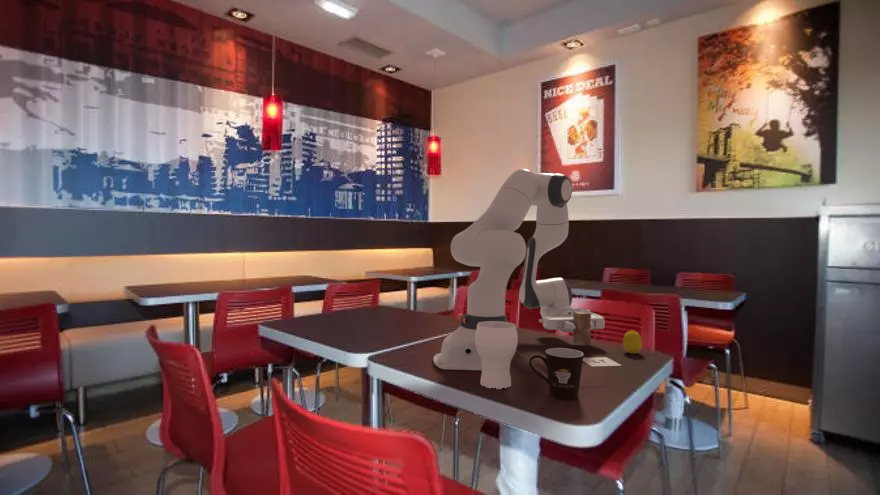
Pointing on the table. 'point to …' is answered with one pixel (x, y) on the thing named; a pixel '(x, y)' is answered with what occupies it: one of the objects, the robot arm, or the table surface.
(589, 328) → the tall wooden block
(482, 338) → the cup
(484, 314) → the robot arm
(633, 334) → the lemon
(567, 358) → the coffee mug
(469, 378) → the table surface
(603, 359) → the tile
